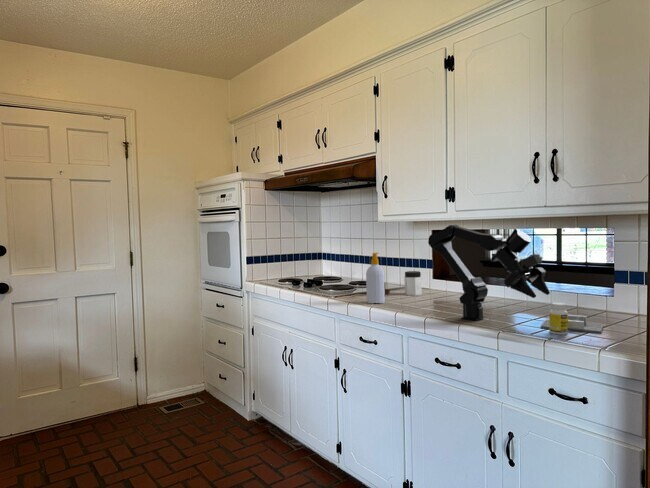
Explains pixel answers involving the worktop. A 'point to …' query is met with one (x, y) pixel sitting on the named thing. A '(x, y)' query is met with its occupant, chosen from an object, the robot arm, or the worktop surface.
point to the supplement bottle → (558, 319)
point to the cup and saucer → (386, 289)
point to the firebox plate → (578, 325)
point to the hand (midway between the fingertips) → (542, 295)
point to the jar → (413, 283)
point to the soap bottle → (375, 282)
